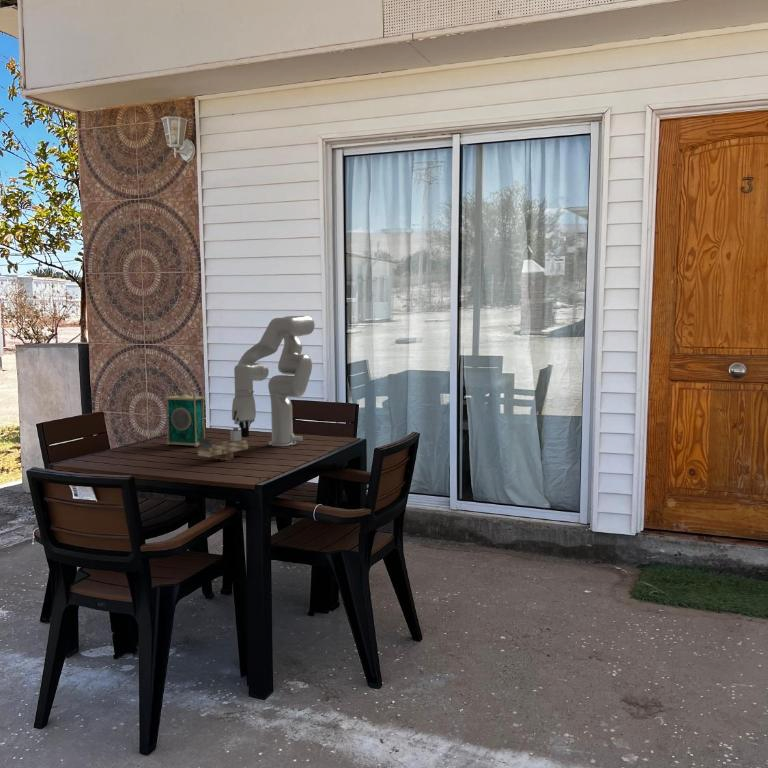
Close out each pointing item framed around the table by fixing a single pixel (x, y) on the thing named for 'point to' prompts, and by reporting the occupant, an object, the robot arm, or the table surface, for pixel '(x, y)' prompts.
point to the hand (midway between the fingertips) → (245, 436)
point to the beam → (220, 448)
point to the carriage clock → (185, 418)
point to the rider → (235, 435)
